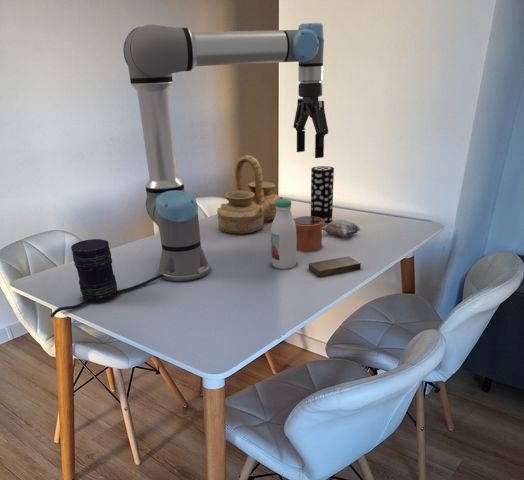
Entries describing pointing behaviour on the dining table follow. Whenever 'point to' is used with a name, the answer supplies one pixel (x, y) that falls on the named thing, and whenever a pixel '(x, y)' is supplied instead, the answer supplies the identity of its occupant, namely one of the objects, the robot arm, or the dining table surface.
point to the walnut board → (334, 266)
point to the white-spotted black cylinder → (322, 192)
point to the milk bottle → (283, 236)
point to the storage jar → (95, 270)
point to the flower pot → (308, 233)
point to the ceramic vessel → (248, 202)
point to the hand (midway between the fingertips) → (309, 154)
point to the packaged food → (341, 228)
